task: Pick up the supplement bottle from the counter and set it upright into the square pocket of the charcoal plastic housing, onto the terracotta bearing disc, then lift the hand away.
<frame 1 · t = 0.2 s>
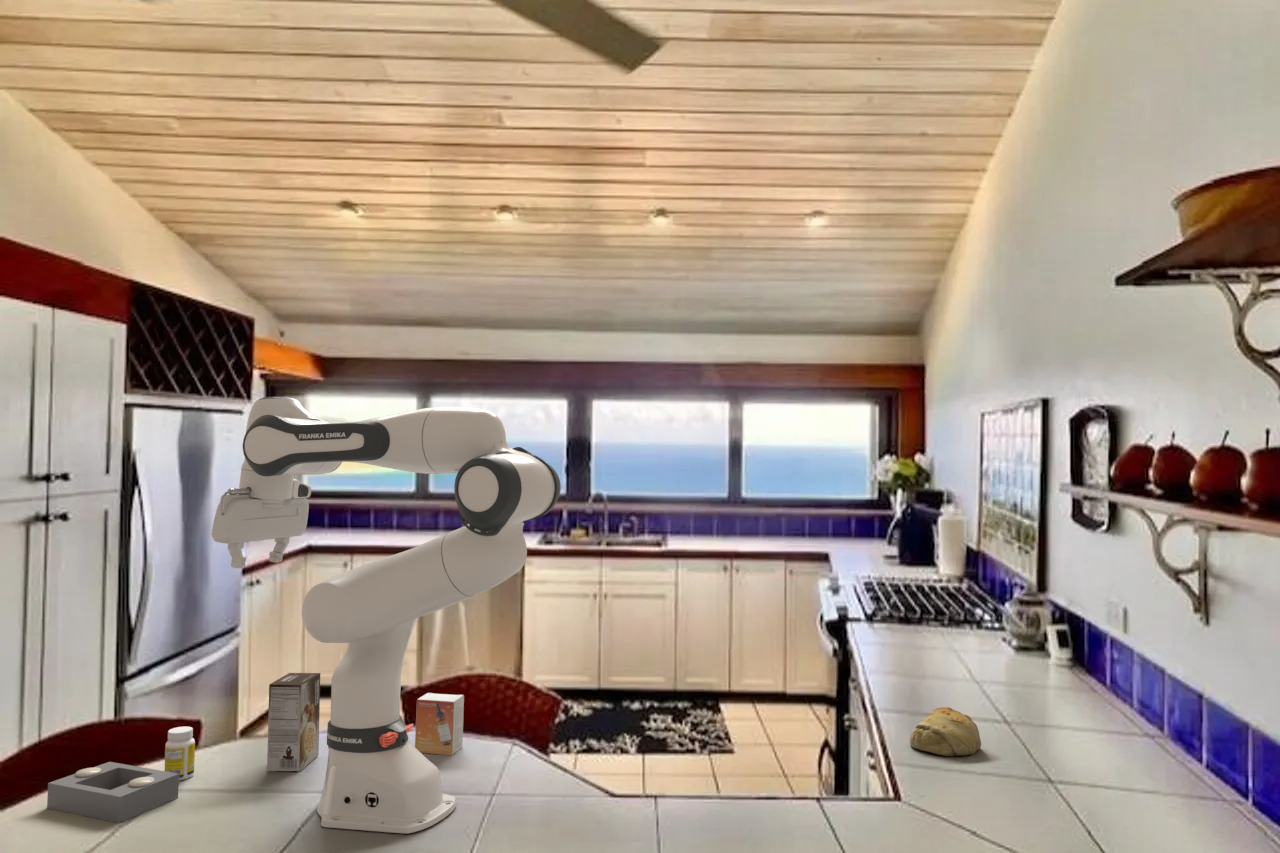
hand: (257, 564, 154), 39 cm above the worktop, tool pointing down, fingers open, 8 cm apart
supplement bottle: (179, 777, 156), on the worktop
small box: (439, 751, 173), on the worktop
coffee box: (293, 764, 164), on the worktop
pastry: (945, 750, 178), on the worktop
housing: (113, 802, 144), on the worktop
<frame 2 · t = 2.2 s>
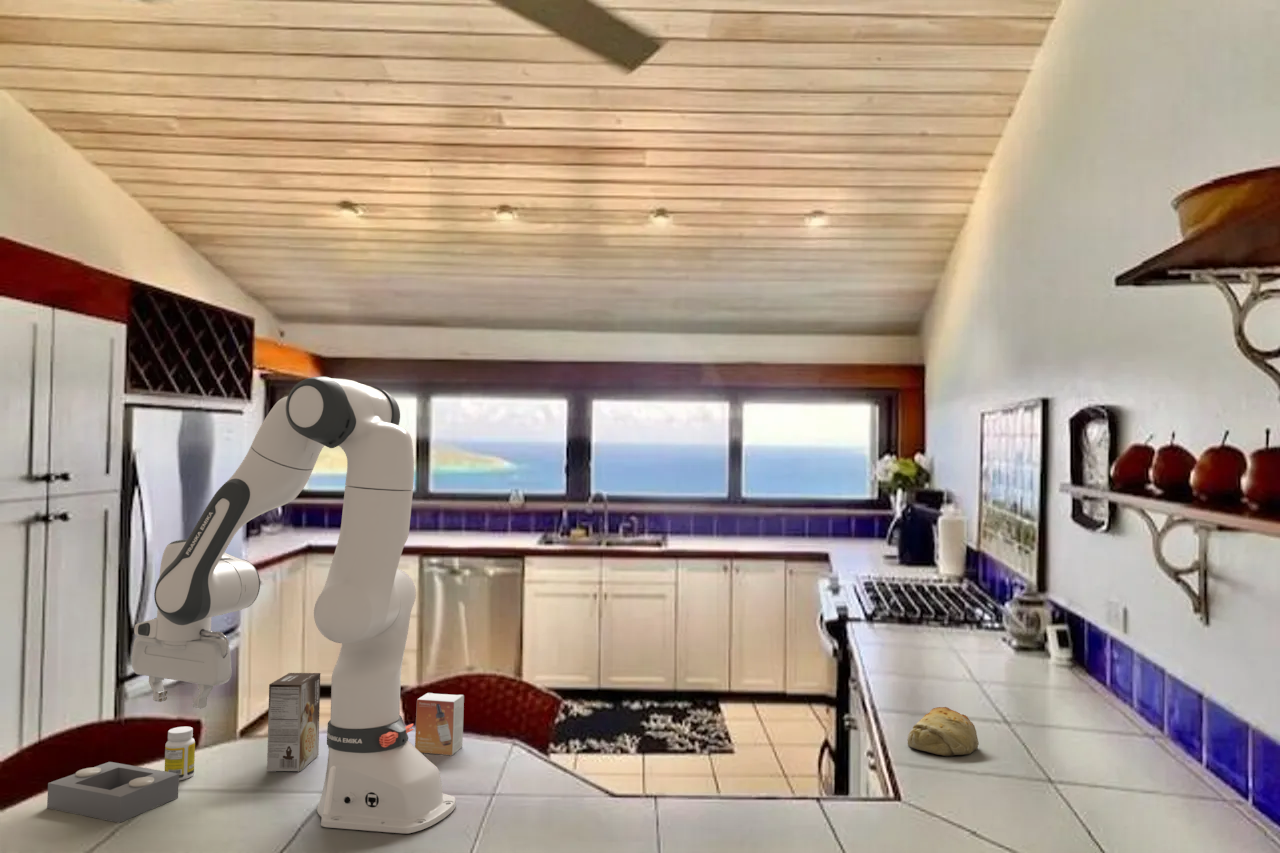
hand: (179, 704, 157), 13 cm above the worktop, tool pointing down, fingers open, 8 cm apart
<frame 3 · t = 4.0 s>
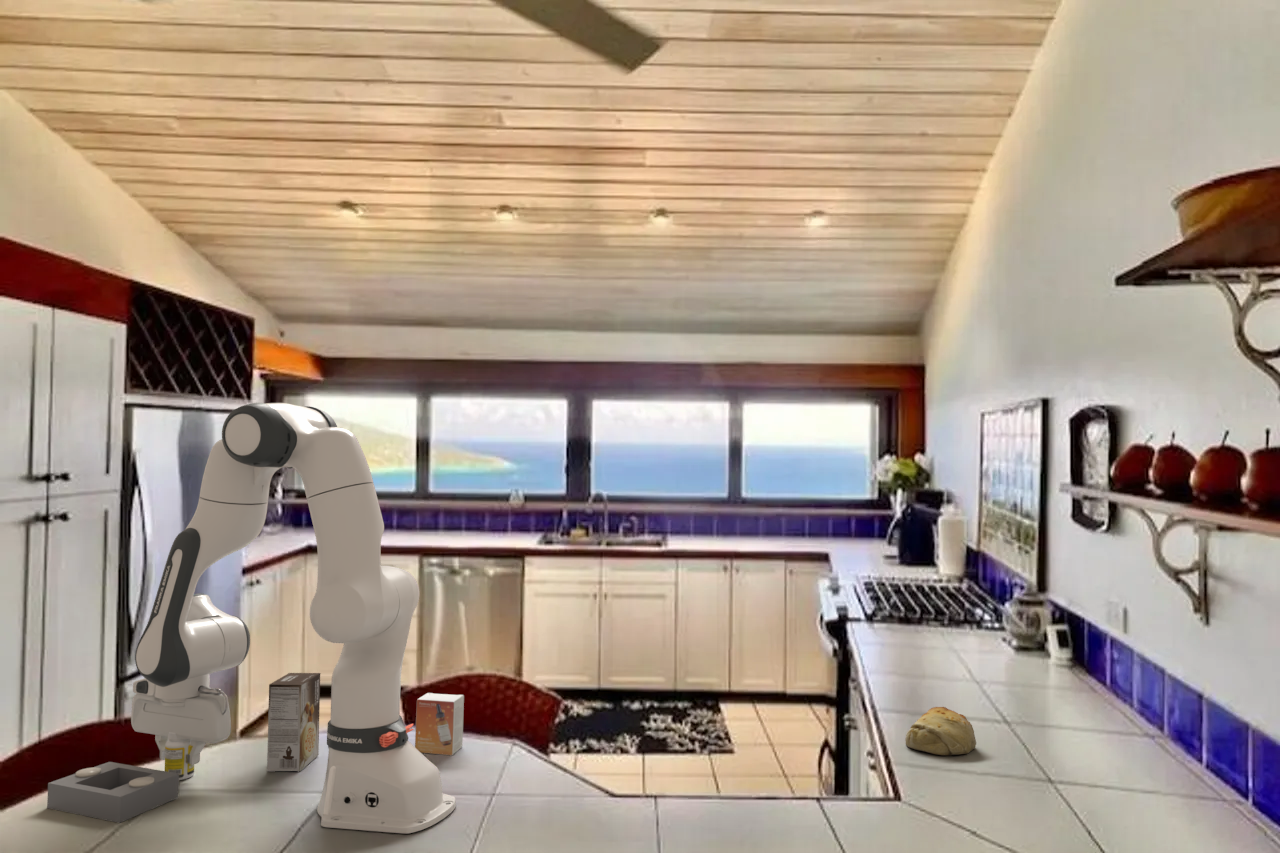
hand: (179, 761, 156), 3 cm above the worktop, tool pointing down, fingers closed on supplement bottle, 5 cm apart
supplement bottle: (179, 777, 156), on the worktop, touching gripper
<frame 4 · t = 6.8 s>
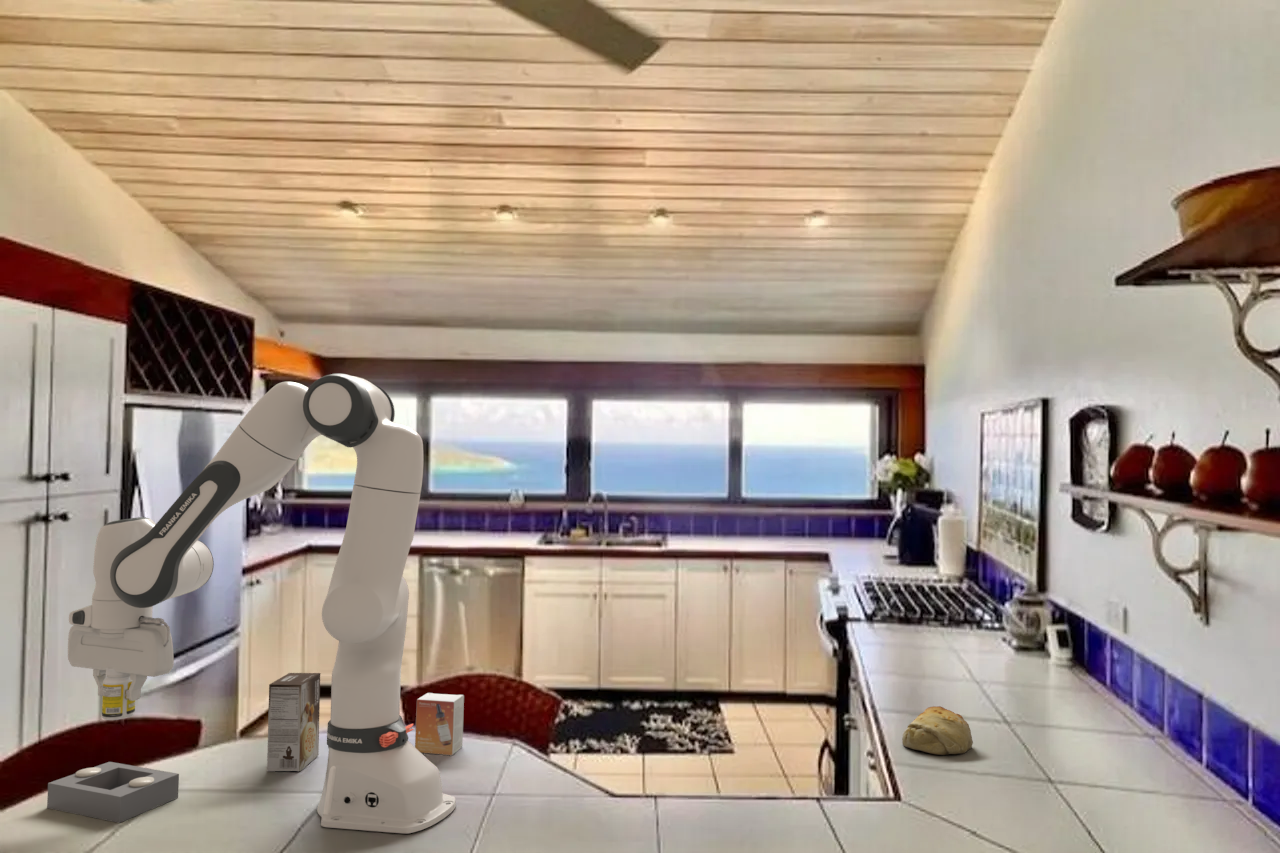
hand: (119, 697, 145), 17 cm above the worktop, tool pointing down, fingers closed on supplement bottle, 5 cm apart
supplement bottle: (118, 717, 145), point 14 cm above the worktop, touching gripper
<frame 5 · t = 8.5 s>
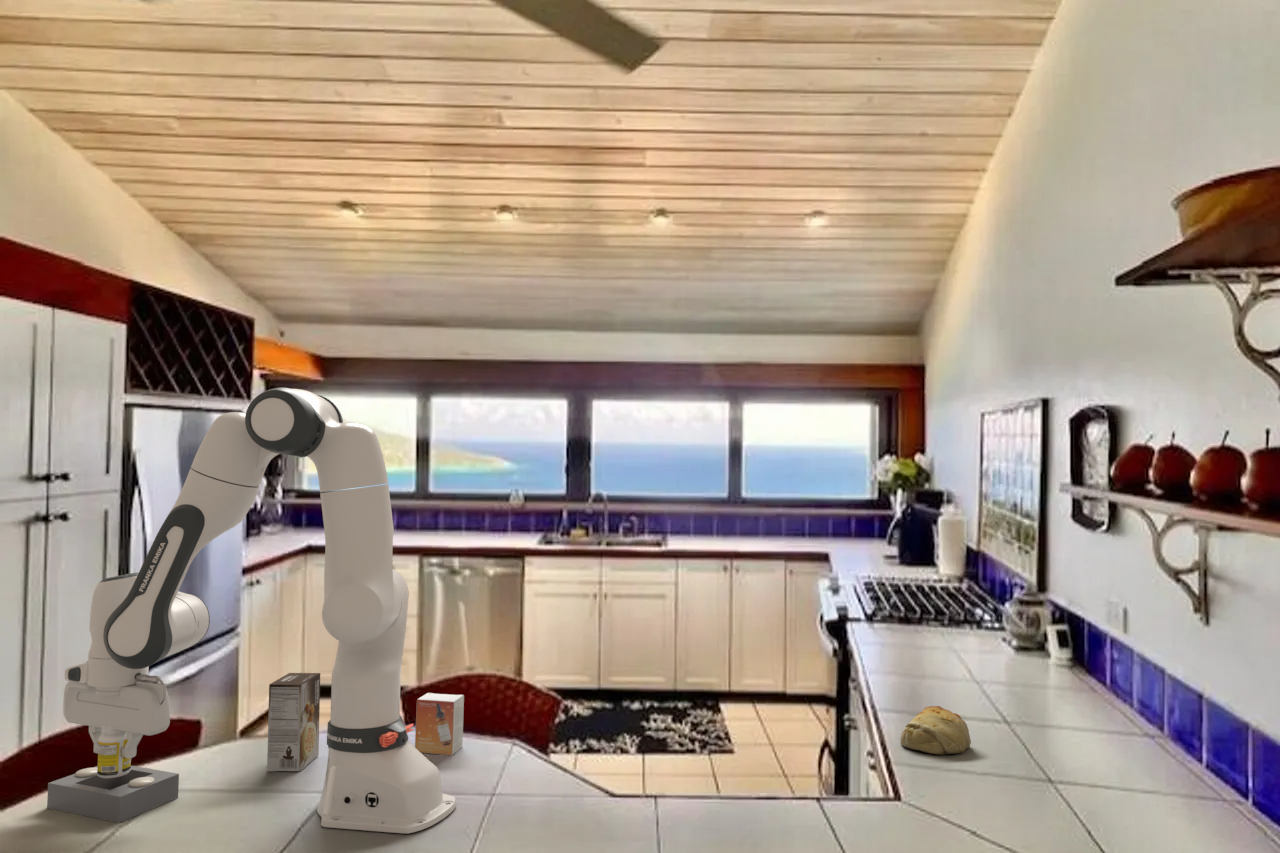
hand: (114, 754, 144), 8 cm above the worktop, tool pointing down, fingers closed on supplement bottle, 5 cm apart
supplement bottle: (113, 775, 144), point 5 cm above the worktop, touching gripper
when the fingers open (5 cm above the worktop, at t = 9.8 s): supplement bottle drops 1 cm, resting on housing.
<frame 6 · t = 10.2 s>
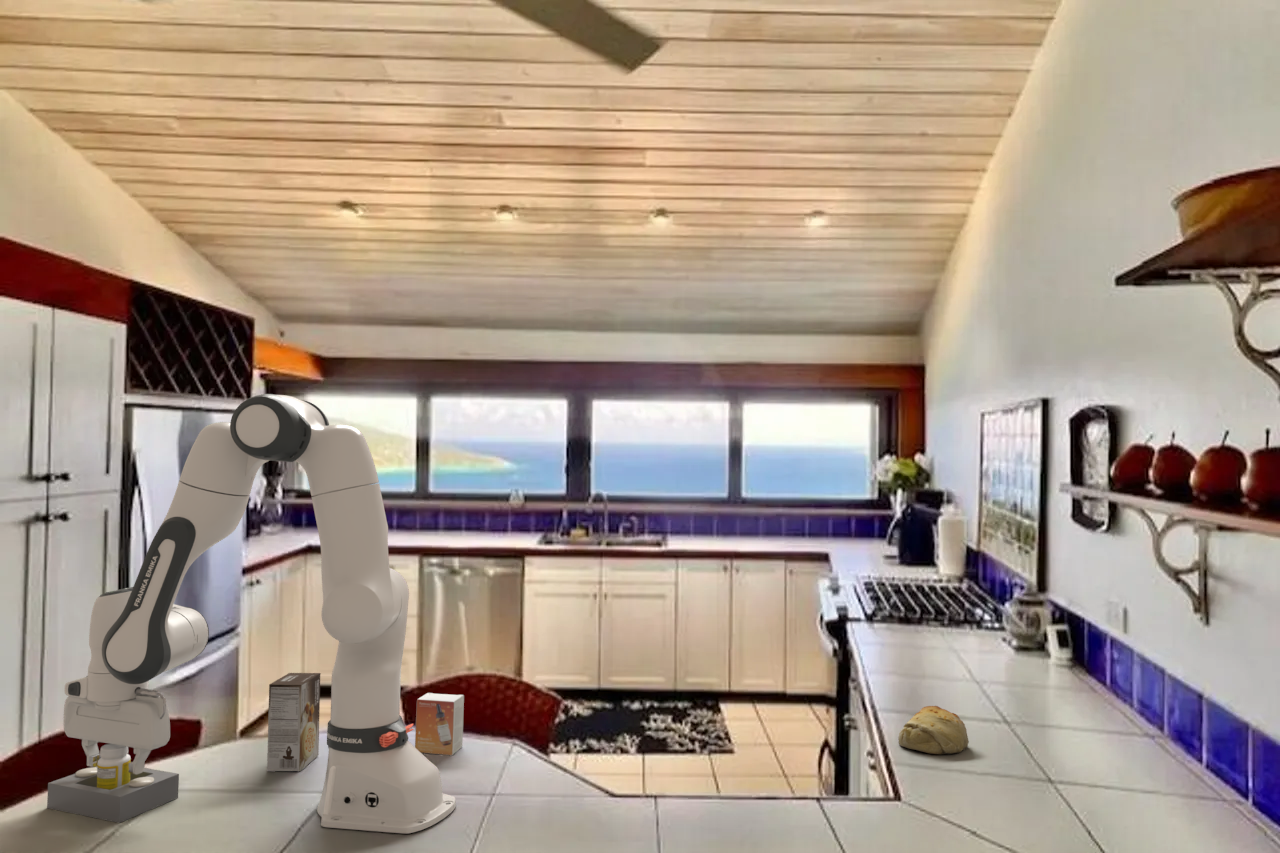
hand: (115, 769, 144), 5 cm above the worktop, tool pointing down, fingers open, 8 cm apart
supplement bottle: (113, 797, 144), point 1 cm above the worktop, touching housing
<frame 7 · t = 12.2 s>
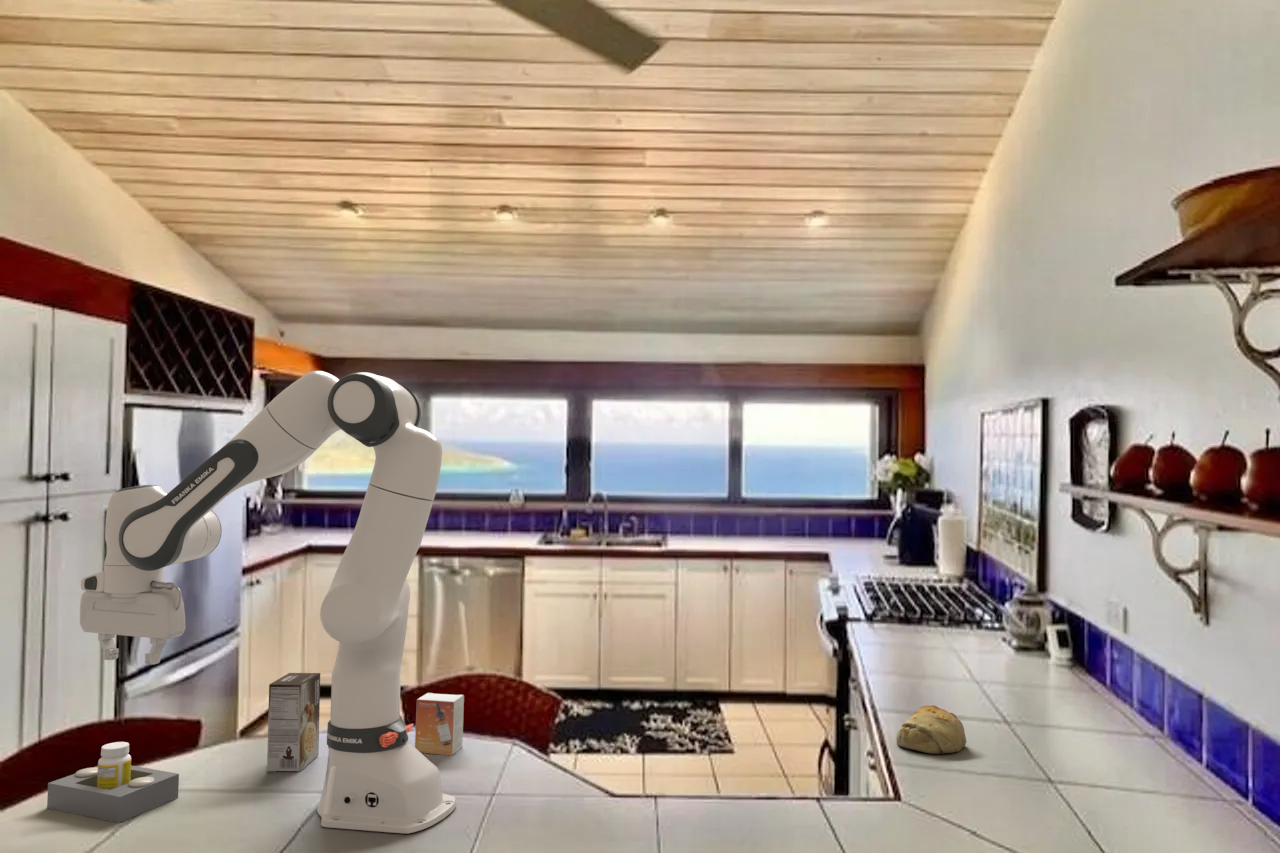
hand: (131, 661, 148), 23 cm above the worktop, tool pointing down, fingers open, 8 cm apart
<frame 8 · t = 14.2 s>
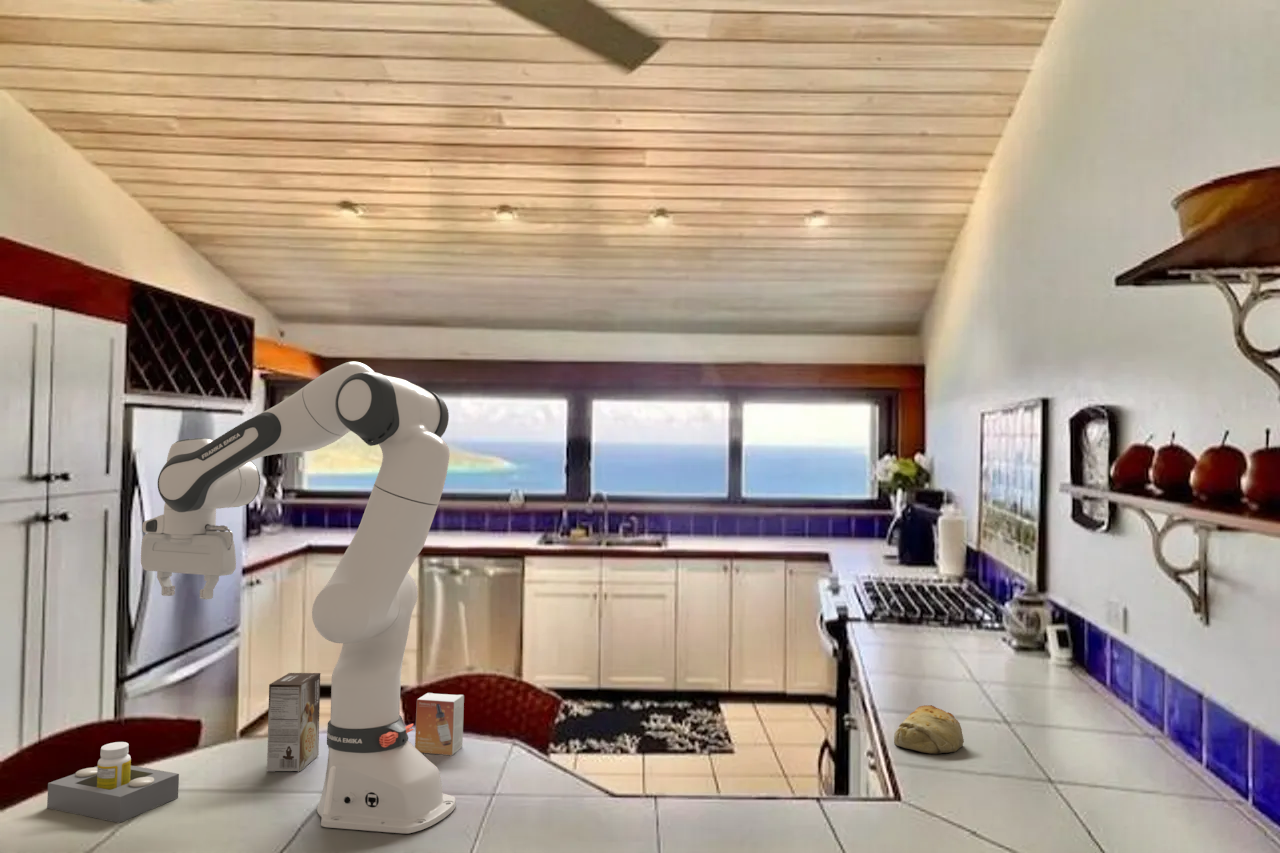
hand: (186, 597, 164), 31 cm above the worktop, tool pointing down, fingers open, 8 cm apart
at the end: supplement bottle 0.2 cm off-centre on the housing, point 0.8 cm above the housing's base; supplement bottle tilted 1°; the gripper is holding nothing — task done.
